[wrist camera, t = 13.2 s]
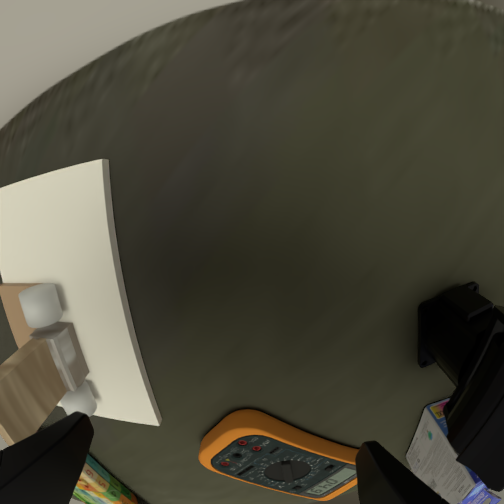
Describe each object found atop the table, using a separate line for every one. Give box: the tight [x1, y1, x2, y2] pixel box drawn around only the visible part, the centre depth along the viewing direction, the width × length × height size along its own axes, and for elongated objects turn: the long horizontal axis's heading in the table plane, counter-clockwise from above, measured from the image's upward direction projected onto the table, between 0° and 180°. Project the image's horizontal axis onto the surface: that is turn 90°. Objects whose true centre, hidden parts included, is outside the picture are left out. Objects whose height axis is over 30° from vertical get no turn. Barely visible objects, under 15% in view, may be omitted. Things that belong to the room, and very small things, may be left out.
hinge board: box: [0, 159, 162, 426], centre depth 19 cm, size 14×23×4 cm, turn 4°
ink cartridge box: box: [406, 398, 501, 504], centre depth 17 cm, size 10×6×14 cm, turn 6°
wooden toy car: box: [0, 321, 89, 446], centre depth 15 cm, size 3×5×11 cm
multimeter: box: [199, 409, 359, 501], centre depth 23 cm, size 9×18×3 cm, turn 55°
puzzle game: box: [36, 431, 138, 504], centre depth 26 cm, size 12×5×20 cm
